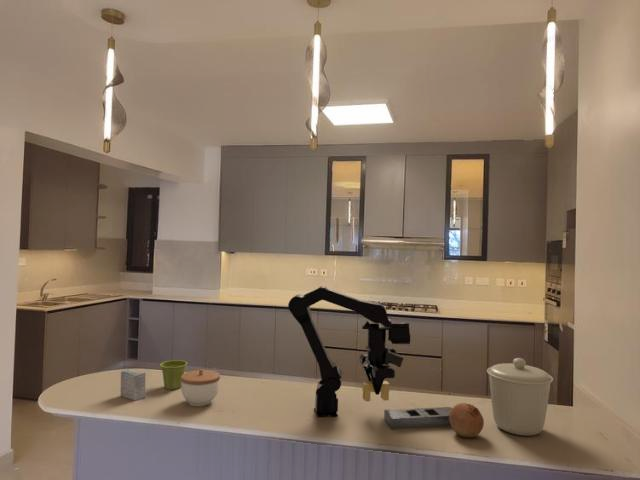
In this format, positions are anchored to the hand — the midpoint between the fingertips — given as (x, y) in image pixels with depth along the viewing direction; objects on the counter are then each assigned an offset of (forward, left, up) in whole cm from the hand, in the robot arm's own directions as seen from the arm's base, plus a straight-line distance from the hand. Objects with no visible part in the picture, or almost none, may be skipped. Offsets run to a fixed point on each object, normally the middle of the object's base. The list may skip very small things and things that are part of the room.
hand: (375, 392), depth 141 cm
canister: (+40, -15, -8) cm, 43 cm away
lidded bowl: (-55, +18, -8) cm, 59 cm away
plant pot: (-66, +35, -8) cm, 75 cm away
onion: (+22, -17, -8) cm, 29 cm away
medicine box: (-78, +26, -8) cm, 83 cm away
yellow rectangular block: (0, 0, -2) cm, 2 cm away
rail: (+13, -7, -7) cm, 16 cm away
